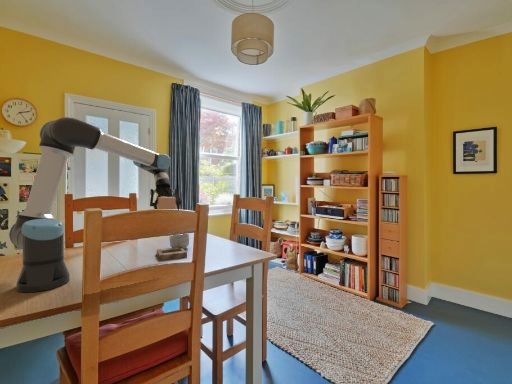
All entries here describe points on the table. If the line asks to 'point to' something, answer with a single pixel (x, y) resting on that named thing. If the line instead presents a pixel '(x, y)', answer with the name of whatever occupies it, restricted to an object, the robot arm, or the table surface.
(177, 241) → the grey rounded piece
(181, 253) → the base board
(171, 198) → the pinkish brown block
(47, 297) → the table surface
